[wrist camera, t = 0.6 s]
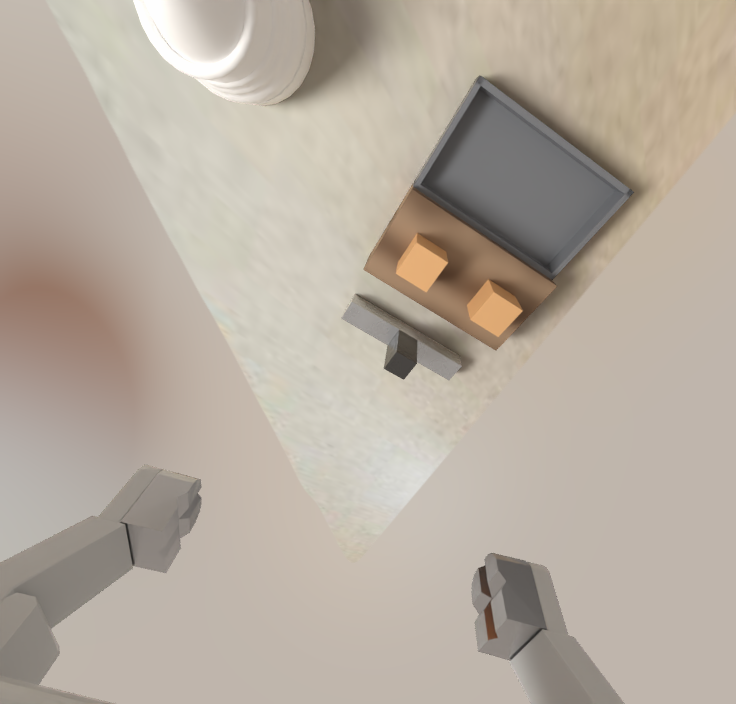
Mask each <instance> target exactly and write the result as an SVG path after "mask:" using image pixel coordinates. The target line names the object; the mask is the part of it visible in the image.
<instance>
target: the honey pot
mask: <svg viewBox="0 0 736 704" xmlns="http://www.w3.org/2000/svg"><path fill="white" fill-rule="evenodd" d="M134 4H135V7H136V10H137V13H138V16H139V19H140V22H141V24H142V26H143V28H144V30H145V32H146V34H147V36H148V37H149V39H150V41H151V43H152V44H153V45H154V47H155V48H156V49H157V50H158V52H159V53H160V54H161V55H162V57H163V58H164V59H165V60H166V61H168V62H169V63H170V64H171V65H172V66H174V67H175V68H176V69H177V70H179V71H181V72H183V73H185V74H187V75H189V76H191V77H193V78H196V79H197V80H198V81H199V82H200V83H201V84H203V85H204V86H205V87H206V88H207V89H209V90H210V91H211V92H212V93H214V94H216V95H218V96H220V97H222V98H224V99H226V100H228V101H231V102H237V103H244V104H252V105H260V106H265V105H271V104H277V103H279V102H281V101H283V100H285V99H287V98H288V97H290V96H291V95H292V94H293V93H294V92H295V91H296V90H297V89H298V88H299V87H300V86H301V84H302V82H303V81H304V79H305V77H306V75H307V73H308V71H309V69H310V65H311V61H312V58H313V54H314V45H315V26H314V19H313V13H312V8H311V5H310V2H309V0H134ZM161 34H162V35H161ZM162 36H163V37H164V38H165V39H164V38H163V37H162ZM165 40H166V41H167V42H168V43H169V44H168V43H167V42H166V41H165ZM169 45H170V46H169Z"/></svg>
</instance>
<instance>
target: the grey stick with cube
mask: <svg viewBox="0 0 736 704" xmlns="http://www.w3.org/2000/svg"><path fill="white" fill-rule="evenodd" d="M342 319H343V320H345V321H347V322H348V323H350V324H352V325H354V326H355V327H357V328H359V329H361V330H362V331H364V332H366V333H368V334H369V335H371V336H373V337H374V338H376V339H378V340H380V341H381V342H383V343H385V344H387V345H388V346H387V353H386V359H385V365H384V369H386V370H387V371H389V372H391V373H393V374H395V375H396V376H398V377H400V378H402V379H403V380H404V379H405V377H406V376H407V375H408V374H409V373H410V371H411V370H412V369H413V368H414V366H415V365H416V364H417V362H418V363H420V364H421V365H423V366H425V367H427V368H428V369H430V370H432V371H434V372H435V373H437V374H439V375H440V376H442V377H444V378H446V379H447V380H450V379H451V378H452V376H453V375H454V374H455V373H456V372H457V371H458V370H459V369H460V368H461V367H462V364H461V358H460V356H459V355H458V354H456V353H454V352H453V351H451V350H449V349H448V348H446V347H444V346H442V345H441V344H439V343H437V342H436V341H434V340H432V339H431V338H429V337H427V336H426V335H424V334H422V333H421V332H419V331H417V330H415V329H414V328H412V327H410V326H409V325H407V324H405V323H404V322H402V321H400V320H399V319H397V318H395V317H393V316H392V315H390V314H388V313H387V312H385V311H383V310H382V309H380V308H378V307H377V306H375V305H373V304H372V303H370V302H368V301H366V300H365V299H363V298H361V297H360V296H358V295H356V294H355V295H354V296H353V298H352V299H351V301H350V303H349V304H348V306H347V308H346V309H345V311H344V314H343V316H342Z"/></svg>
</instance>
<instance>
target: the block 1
mask: <svg viewBox="0 0 736 704" xmlns="http://www.w3.org/2000/svg"><path fill="white" fill-rule="evenodd" d="M447 264H448V259H447V253H446V251H444V250H443V249H441V248H440V247H438V246H437V245H435V244H434V243H432V242H430V241H429V240H427V239H426V238H424V237H423V236H421V235H420V234H418V233H417V234H416V235H415V237H414V238H413V240H412V241H411V243H410V245H409V246H408V248H407V249H406V251H405V252H404V254H403V255H402V257H401V258H400V260H399V261H398V264H397V270H396V274H397V275H399V276H400V277H402V278H404V279H405V280H407V281H408V282H410V283H412V284H413V285H415V286H417V287H418V288H420V289H421V290H423V291H425V292H427V291H428V289H429V288H430V287H431V285H432V284H433V283H434V281H435V280H436V279H437V277H438V276H439V275H440V273H441V272H442V270H443V269H444V268H445V266H446V265H447Z"/></svg>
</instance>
